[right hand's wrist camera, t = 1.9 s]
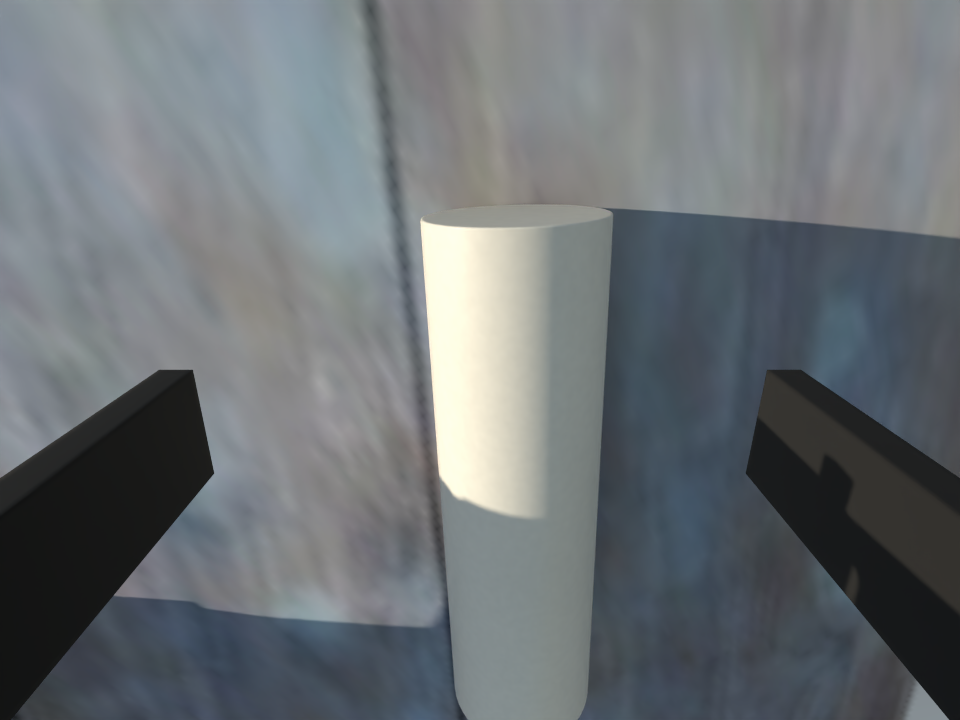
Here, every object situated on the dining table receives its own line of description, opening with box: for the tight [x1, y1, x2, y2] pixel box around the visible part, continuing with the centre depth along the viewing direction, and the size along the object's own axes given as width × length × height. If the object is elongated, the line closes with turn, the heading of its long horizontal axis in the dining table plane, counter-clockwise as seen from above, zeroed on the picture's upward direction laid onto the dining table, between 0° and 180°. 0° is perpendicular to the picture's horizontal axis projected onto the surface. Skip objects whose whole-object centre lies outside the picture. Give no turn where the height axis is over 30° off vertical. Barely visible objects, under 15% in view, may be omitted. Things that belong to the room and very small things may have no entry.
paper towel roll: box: [421, 204, 613, 720], centre depth 27 cm, size 27×8×8 cm, turn 2°
